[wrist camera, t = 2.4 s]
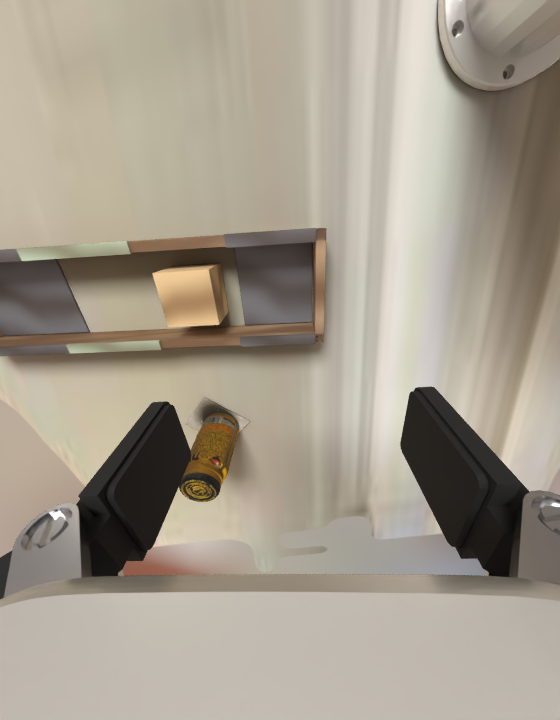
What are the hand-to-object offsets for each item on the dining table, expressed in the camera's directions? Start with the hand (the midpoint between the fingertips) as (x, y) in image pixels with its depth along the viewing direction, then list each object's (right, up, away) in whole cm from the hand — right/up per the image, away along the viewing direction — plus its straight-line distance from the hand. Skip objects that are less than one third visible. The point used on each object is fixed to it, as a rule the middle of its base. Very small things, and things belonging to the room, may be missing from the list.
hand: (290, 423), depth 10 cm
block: (-10, +12, +21) cm, 26 cm away
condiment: (-11, -8, +32) cm, 35 cm away
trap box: (-18, +11, +22) cm, 31 cm away
